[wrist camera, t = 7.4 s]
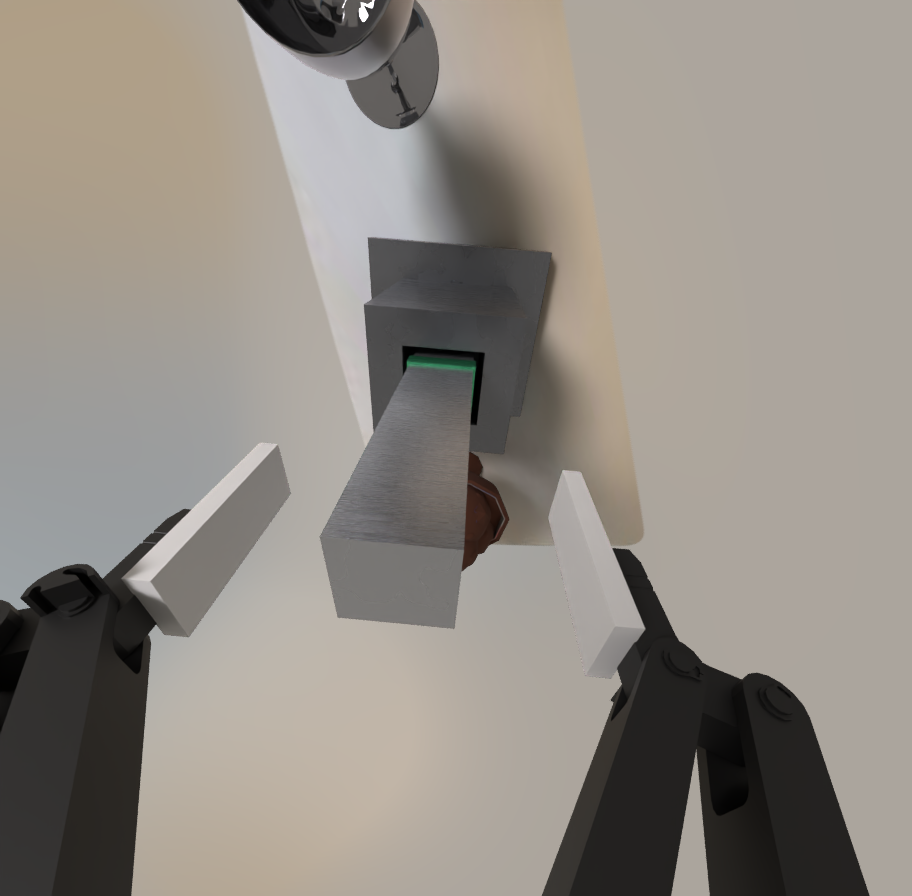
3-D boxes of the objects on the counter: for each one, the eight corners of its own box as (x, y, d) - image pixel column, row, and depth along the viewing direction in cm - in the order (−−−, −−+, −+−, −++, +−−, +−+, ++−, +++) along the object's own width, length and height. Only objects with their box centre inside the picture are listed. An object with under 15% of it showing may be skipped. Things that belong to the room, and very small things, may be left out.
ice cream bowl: (503, 497, 47) (511, 596, 34) (423, 498, 48) (403, 594, 35) (505, 431, 41) (515, 521, 28) (414, 433, 42) (386, 521, 29)
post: (423, 331, 27) (313, 532, 9) (476, 336, 27) (469, 547, 9) (422, 382, 29) (334, 619, 12) (471, 386, 29) (458, 631, 12)
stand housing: (372, 237, 31) (300, 243, 18) (548, 251, 31) (594, 268, 18) (382, 398, 40) (337, 475, 27) (518, 410, 39) (536, 494, 27)
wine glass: (466, 41, 24) (450, -163, 11) (408, 161, 28) (348, 106, 15) (366, -64, 22) (211, -461, 9) (318, 81, 25) (161, -59, 13)
